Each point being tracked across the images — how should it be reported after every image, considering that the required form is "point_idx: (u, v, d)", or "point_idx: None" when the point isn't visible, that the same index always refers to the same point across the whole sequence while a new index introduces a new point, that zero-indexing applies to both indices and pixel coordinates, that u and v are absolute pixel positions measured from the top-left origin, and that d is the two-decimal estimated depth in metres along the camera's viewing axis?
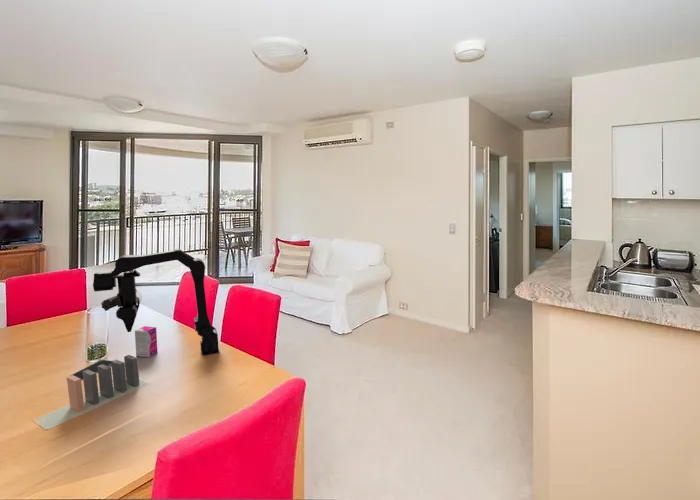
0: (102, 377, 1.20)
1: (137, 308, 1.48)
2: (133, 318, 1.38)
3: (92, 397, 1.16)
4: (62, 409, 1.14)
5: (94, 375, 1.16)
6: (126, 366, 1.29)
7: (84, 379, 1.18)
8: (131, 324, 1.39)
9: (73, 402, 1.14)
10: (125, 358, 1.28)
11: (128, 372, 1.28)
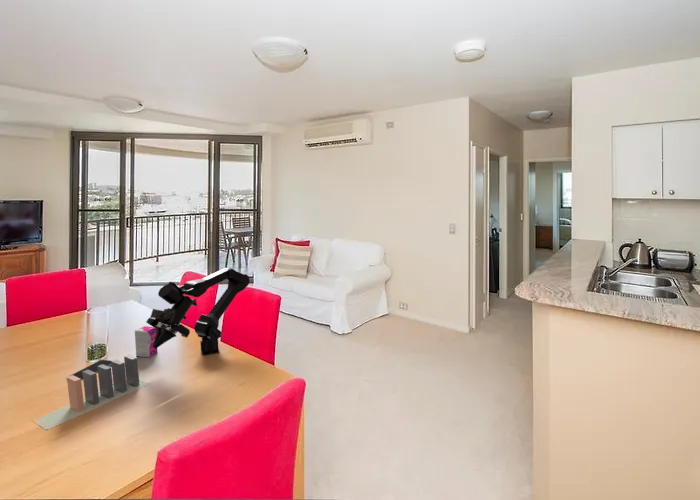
0: (102, 377, 1.20)
1: None
2: (170, 337, 1.38)
3: (92, 397, 1.16)
4: (62, 409, 1.14)
5: (94, 375, 1.16)
6: (126, 366, 1.29)
7: (84, 379, 1.18)
8: (163, 342, 1.37)
9: (73, 402, 1.14)
10: (125, 358, 1.28)
11: (128, 372, 1.28)
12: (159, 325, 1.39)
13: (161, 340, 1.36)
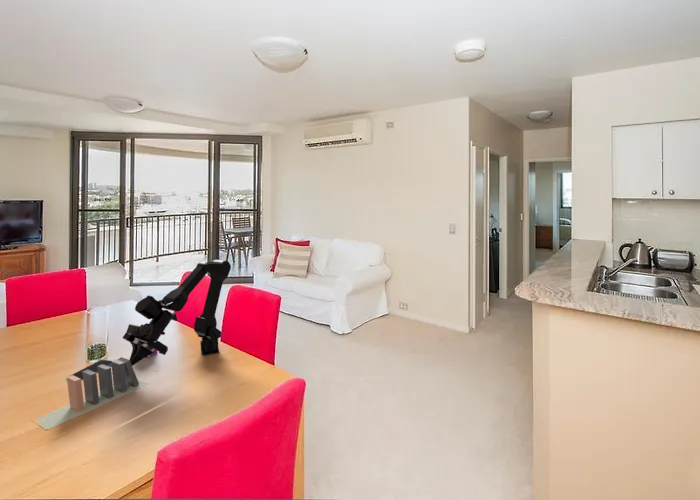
0: (102, 377, 1.20)
1: None
2: (147, 354, 1.31)
3: (92, 397, 1.16)
4: (62, 409, 1.14)
5: (94, 375, 1.16)
6: None
7: (84, 379, 1.18)
8: (139, 359, 1.30)
9: (73, 402, 1.14)
10: None
11: None
12: (136, 341, 1.31)
13: (137, 357, 1.29)
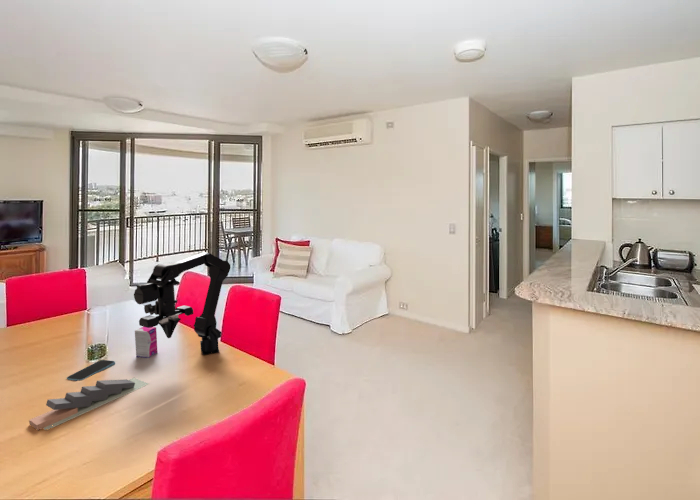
0: None
1: (173, 322, 1.39)
2: (166, 326, 1.37)
3: None
4: None
5: (57, 406, 1.08)
6: None
7: None
8: (167, 331, 1.39)
9: None
10: None
11: None
12: None
13: (165, 330, 1.39)
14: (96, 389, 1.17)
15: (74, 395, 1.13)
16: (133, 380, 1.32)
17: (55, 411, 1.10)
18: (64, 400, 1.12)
